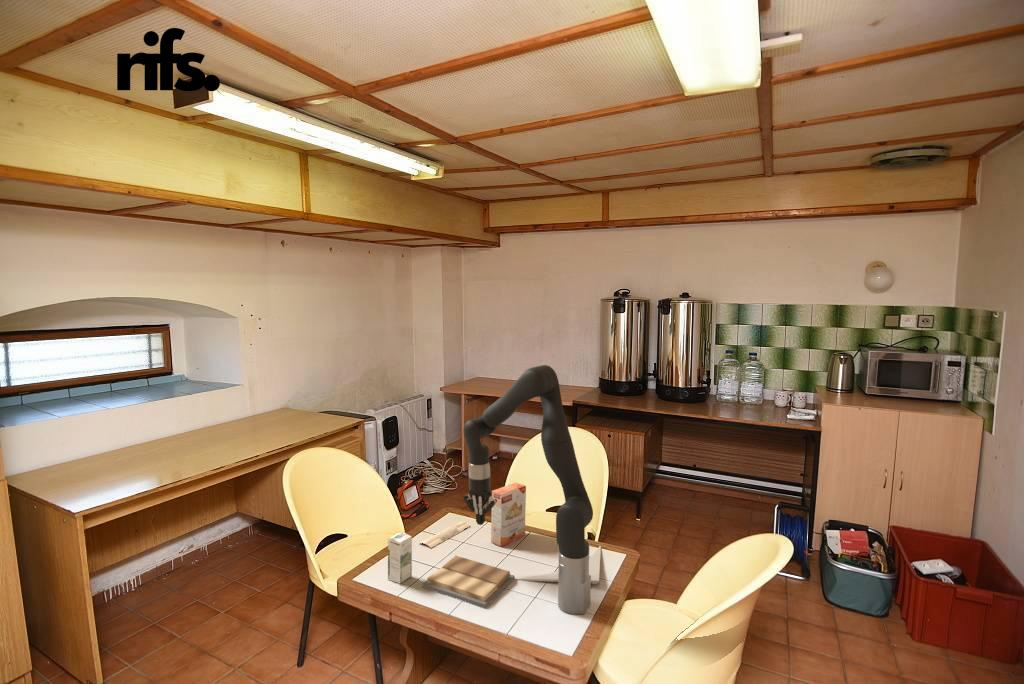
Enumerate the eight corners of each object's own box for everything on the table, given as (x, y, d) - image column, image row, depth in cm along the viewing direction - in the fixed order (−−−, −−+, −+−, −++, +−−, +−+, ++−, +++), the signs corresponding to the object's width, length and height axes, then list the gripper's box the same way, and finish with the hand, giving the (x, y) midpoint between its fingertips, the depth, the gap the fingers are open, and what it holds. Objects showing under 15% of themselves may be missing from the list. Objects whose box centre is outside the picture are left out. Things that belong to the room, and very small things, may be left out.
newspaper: (459, 524, 217) (459, 520, 217) (472, 528, 213) (472, 524, 213) (419, 546, 198) (419, 541, 198) (432, 551, 194) (432, 546, 194)
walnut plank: (509, 575, 172) (509, 571, 172) (497, 588, 166) (497, 583, 165) (456, 559, 183) (455, 555, 183) (442, 570, 176) (442, 566, 176)
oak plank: (497, 589, 165) (497, 584, 165) (484, 601, 158) (484, 596, 158) (441, 571, 176) (441, 567, 176) (427, 582, 169) (427, 577, 169)
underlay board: (514, 579, 173) (514, 575, 173) (484, 608, 157) (484, 604, 157) (456, 561, 185) (456, 558, 185) (422, 586, 168) (422, 583, 168)
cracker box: (501, 548, 195) (501, 494, 194) (490, 542, 199) (490, 490, 198) (526, 536, 205) (526, 485, 204) (515, 531, 210) (515, 481, 208)
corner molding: (509, 583, 174) (599, 585, 168) (509, 578, 174) (598, 580, 168) (524, 549, 203) (601, 550, 197) (524, 545, 203) (600, 545, 197)
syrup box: (399, 572, 178) (399, 531, 176) (412, 576, 174) (412, 535, 173) (387, 579, 173) (387, 538, 171) (400, 584, 170) (400, 542, 168)
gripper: (501, 474, 178) (502, 523, 179) (469, 469, 184) (470, 516, 185) (490, 481, 171) (491, 531, 172) (457, 475, 177) (458, 524, 179)
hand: (480, 523), depth 179 cm, fingers closed
